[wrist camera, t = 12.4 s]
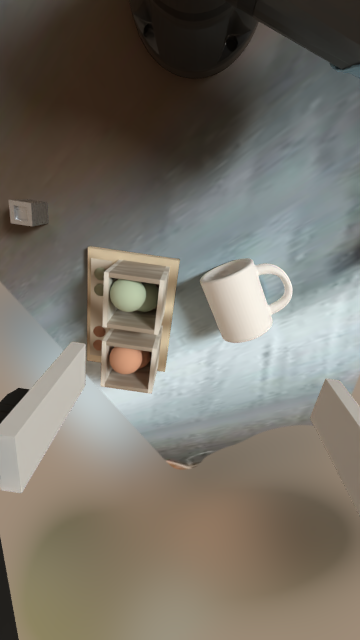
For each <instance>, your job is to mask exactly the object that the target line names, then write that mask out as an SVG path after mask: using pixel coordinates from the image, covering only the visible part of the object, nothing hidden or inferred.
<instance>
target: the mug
mask: <svg viewBox="0 0 360 640" xmlns="http://www.w3.org/2000/svg"><path fill="white" fill-rule="evenodd" d="M262 274H274V275H277V276H278V277H280V279H281V280H282V282H283V284H284V288H285V292H284V295H283V296H282V297H281V298H280V299H279V300H277V301H276V302H274V303H272V304H270V305H268V304H267V301H266V298H265V295H264V292H263V289H262V286H261V283H260V280H259V275H262ZM200 284H201V286H202V288H203V291H204V293H205V296H206V298H207V301H208V303H209V306H210V308H211V311H212V313H213V315H214V318H215V320H216V323H217V325H218V328H219V330H220V333H221V335H222V337H223V339H224V340H226V341H228V342H232V343H240V342H246V341H249V340H252V339H255V338H257V337H259V336H261V335H263V334H264V333H266V332H267V331H268V330H269V329H270V328H271V326H272V323H273V320H272V317H271V315H272V314H274V313H276V312H278V311H280V310H281V309H283V308H284V307H285V306H286V305H287V304H288V303H289V301H290V299H291V297H292V284H291V282H290V279H289V277H288V276H287V274H286V273H285V272H284V271H283V270H282V269H281V268H279V267H278V266H276V265H273V264H258V265H254V262H253V260H252V259H248V258H245V259H238V260H234V261H231V262H228V263H225V264H222V265H220V266H218V267H216V268H214V269H212V270H210V271H208V272H207V273H206V274H204V275H203V276H202V277H201V279H200Z"/></svg>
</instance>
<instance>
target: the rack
mask: <svg viewBox="0 0 360 640" xmlns="http://www.w3.org/2000/svg"><path fill="white" fill-rule="evenodd" d="M179 262H180V259H175V258H168V257H161V256H154V255H147V254H140V253H133V252H126V251H120V250H113V249H106V248H99V247H92V246H90V247H88V300H87V361H94V362H101V386H102V387H109V388H116V389H123V390H130V391H137V392H144V393H151V394H152V390H153V385H154V381H155V377H156V373H157V371H163V372H165V367H166V360H167V352H168V345H169V337H170V330H171V322H172V315H173V307H174V300H175V292H176V285H177V277H178V270H179ZM118 279H125V280H132V281H139V282H146V283H153V284H155V285H156V286H157V288H158V289H159V293H158V303H157V306H156V307H155V308H154V309H152V310H151V311H148V312H141V311H138V310H135V311H132V312H124V311H121V310H119V309H118V308H116V307H115V306H114V304H113V303H112V301H111V298H110V290H111V287H112V285H113V283H114V282H115V281H116V280H118ZM114 347H121V348H128V349H135V350H142V351H149V352H151V359H150V361H149V363H148V364H147V365H146V366H145V367H143V368H141V369H137V370H136V371H135V372H133V373H131V374H120V373H118V372H116V371H115V370H114V369H113V368H112V366H111V364H110V360H109V357H110V353H111V351H112V349H113V348H114Z"/></svg>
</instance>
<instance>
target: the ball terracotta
mask: <svg viewBox="0 0 360 640" xmlns="http://www.w3.org/2000/svg"><path fill="white" fill-rule="evenodd" d="M109 360H110V364H111V366H112V368H113V369H114V370H115V371H116V372H118V373H120V374H131V373H133V372H135V371H136V370H137V369H138V368H139V367H140V365H141V362H142V353H141V351H140V350H135V349H128V348H121V347H114V348H113V349H112V351H111V353H110V357H109Z"/></svg>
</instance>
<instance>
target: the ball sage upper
mask: <svg viewBox="0 0 360 640" xmlns="http://www.w3.org/2000/svg"><path fill="white" fill-rule="evenodd" d="M110 298H111V301H112V303H113V304H114V306H115V307H116V308H118V309H119V310H121V311H124V312H132V311H135V310H137V309H139V308H140V307H141V306H142V305H143V303H144V301H145V298H146V291H145V288H144V285H143V284H142V283H141V282H139V281H132V280H125V279H118V280H116V281H115V282H114V283H113V285H112V287H111V290H110Z"/></svg>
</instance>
